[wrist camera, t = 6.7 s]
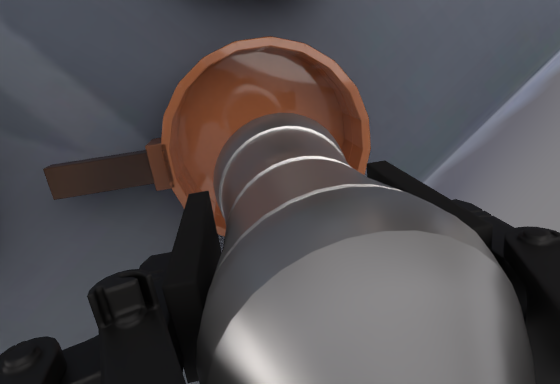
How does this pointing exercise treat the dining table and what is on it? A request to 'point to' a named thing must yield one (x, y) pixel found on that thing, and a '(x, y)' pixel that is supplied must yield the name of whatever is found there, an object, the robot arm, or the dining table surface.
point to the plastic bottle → (347, 276)
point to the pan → (256, 107)
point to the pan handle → (111, 172)
